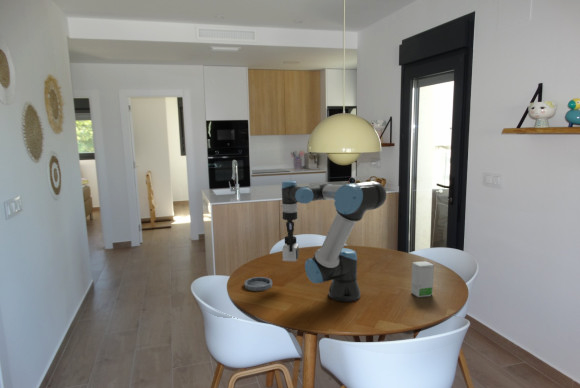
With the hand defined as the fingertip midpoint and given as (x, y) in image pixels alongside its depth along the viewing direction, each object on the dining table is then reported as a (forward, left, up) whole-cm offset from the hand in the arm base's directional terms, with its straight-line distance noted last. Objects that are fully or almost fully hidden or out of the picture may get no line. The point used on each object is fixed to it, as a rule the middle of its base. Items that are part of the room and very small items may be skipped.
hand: (290, 254), depth 207 cm
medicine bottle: (0, 0, -3) cm, 3 cm away
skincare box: (-56, -33, -17) cm, 67 cm away
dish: (+12, +12, -16) cm, 24 cm away
